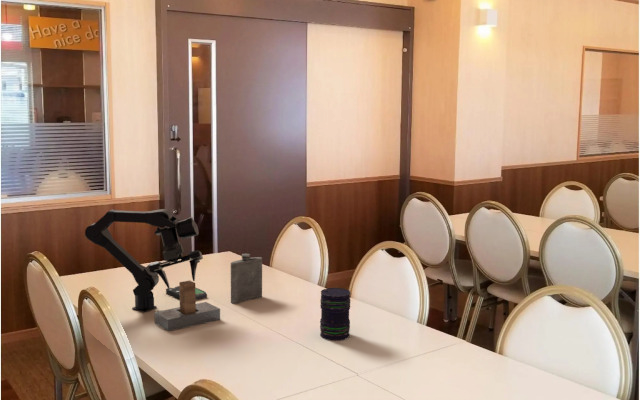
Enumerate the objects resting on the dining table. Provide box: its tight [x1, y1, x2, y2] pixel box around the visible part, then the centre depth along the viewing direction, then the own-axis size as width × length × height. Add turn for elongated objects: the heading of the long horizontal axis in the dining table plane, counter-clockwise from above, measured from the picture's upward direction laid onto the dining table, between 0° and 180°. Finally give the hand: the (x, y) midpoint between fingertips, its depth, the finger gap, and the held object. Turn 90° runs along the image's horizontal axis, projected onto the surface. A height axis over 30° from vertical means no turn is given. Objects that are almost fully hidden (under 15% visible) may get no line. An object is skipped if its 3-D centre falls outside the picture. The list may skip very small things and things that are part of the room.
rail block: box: [154, 301, 221, 332], centre depth 235 cm, size 10×20×4 cm, turn 129°
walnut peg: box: [179, 280, 197, 314], centre depth 234 cm, size 4×4×14 cm
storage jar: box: [319, 287, 351, 342], centre depth 222 cm, size 10×10×15 cm
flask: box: [230, 253, 263, 305], centre depth 261 cm, size 4×14×18 cm, turn 133°
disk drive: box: [165, 285, 208, 301], centre depth 266 cm, size 10×3×15 cm
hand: (181, 284), depth 241 cm, fingers open, 9 cm apart
